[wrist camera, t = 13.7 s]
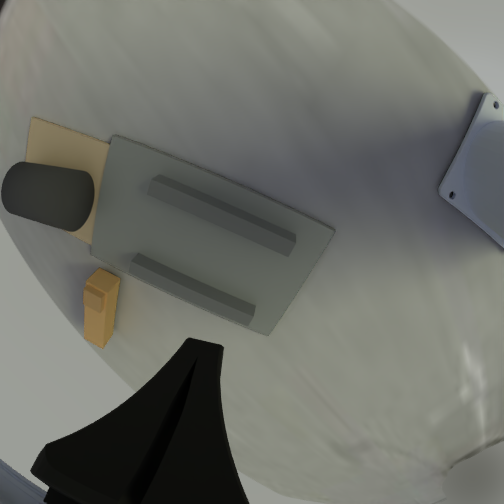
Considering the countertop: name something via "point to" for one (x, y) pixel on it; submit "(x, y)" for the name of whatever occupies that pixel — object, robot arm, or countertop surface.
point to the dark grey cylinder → (49, 194)
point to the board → (187, 227)
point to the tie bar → (100, 306)
